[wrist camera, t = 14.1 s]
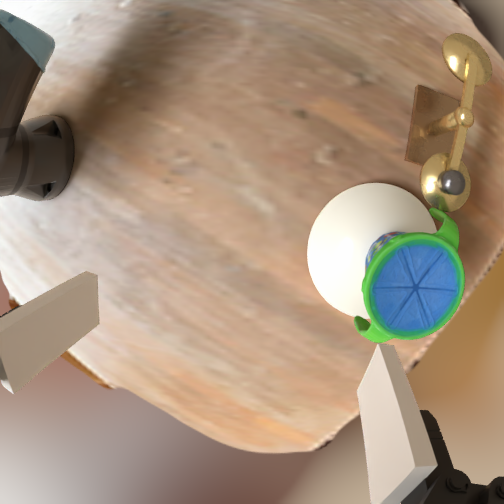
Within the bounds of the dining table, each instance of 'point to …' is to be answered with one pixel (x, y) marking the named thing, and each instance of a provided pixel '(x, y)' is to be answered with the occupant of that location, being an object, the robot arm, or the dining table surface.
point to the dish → (358, 238)
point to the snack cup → (412, 283)
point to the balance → (447, 126)
